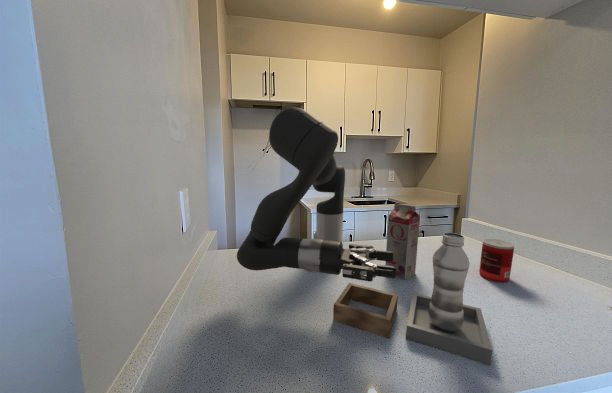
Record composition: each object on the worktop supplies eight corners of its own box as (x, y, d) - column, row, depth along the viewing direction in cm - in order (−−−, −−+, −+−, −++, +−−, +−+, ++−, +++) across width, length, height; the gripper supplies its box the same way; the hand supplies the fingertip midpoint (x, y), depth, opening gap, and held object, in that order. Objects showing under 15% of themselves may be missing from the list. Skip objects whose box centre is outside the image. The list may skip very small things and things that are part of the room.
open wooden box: (333, 320, 57) (333, 304, 56) (348, 297, 66) (349, 282, 66) (389, 338, 51) (390, 320, 51) (396, 310, 61) (398, 294, 60)
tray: (405, 339, 51) (406, 325, 51) (412, 304, 64) (413, 292, 63) (490, 365, 45) (492, 350, 44) (479, 320, 57) (480, 308, 57)
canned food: (505, 274, 81) (509, 240, 79) (513, 285, 74) (518, 249, 72) (476, 269, 84) (480, 237, 82) (481, 279, 77) (485, 244, 75)
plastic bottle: (468, 338, 50) (479, 241, 47) (431, 333, 52) (440, 238, 49) (456, 318, 57) (465, 231, 54) (423, 314, 58) (431, 229, 55)
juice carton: (404, 279, 76) (410, 207, 73) (384, 272, 81) (389, 204, 78) (415, 273, 80) (420, 204, 77) (395, 266, 85) (400, 201, 82)
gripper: (326, 259, 67) (391, 267, 62) (313, 285, 53) (395, 297, 49) (326, 231, 65) (393, 237, 61) (314, 251, 52) (398, 260, 48)
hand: (394, 264), depth 55 cm, fingers open, 8 cm apart
